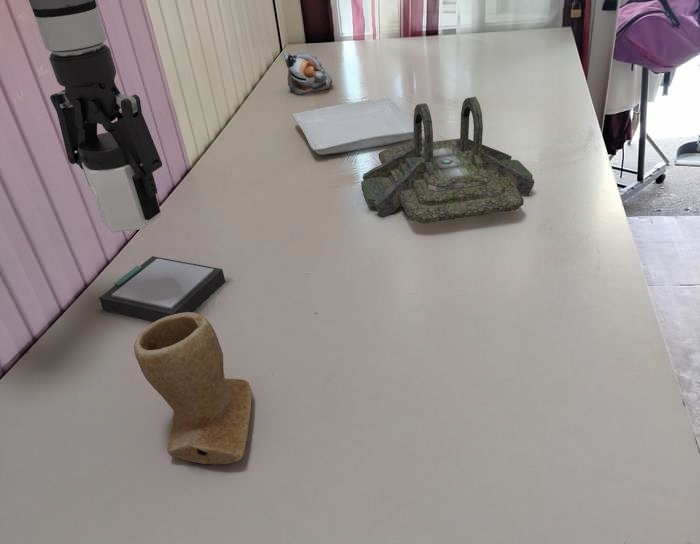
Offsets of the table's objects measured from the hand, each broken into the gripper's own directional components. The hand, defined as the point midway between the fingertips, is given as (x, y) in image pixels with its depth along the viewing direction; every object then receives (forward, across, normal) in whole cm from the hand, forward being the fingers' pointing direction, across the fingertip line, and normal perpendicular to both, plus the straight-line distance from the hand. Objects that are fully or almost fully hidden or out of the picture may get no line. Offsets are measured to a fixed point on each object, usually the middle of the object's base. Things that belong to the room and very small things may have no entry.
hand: (130, 212), depth 95 cm
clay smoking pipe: (+17, -24, +21) cm, 37 cm away
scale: (+17, +1, -3) cm, 17 cm away
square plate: (+17, 0, -80) cm, 81 cm away
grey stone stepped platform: (+17, -32, -54) cm, 65 cm away
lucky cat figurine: (+17, +29, -111) cm, 116 cm away
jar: (+1, 0, 0) cm, 1 cm away
